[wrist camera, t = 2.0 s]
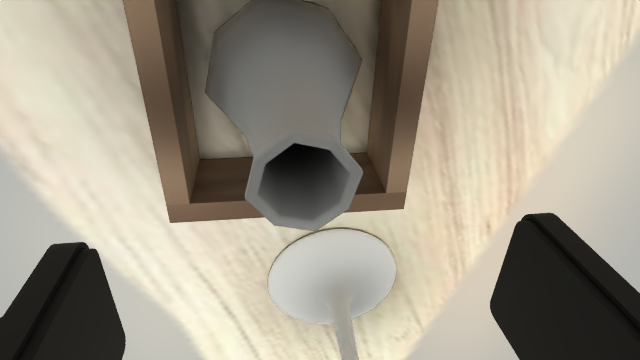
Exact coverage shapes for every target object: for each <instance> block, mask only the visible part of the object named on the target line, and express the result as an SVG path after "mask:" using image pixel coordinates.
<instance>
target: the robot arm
mask: <svg viewBox="0 0 640 360" xmlns="http://www.w3.org/2000/svg"><path fill="white" fill-rule="evenodd" d="M490 309H491V313H492V315H493V317H494V319H495V320H496V322H497V324H498V325H499V327H500V329H501V330H502V332H503V333H504V335H505V337H506V338H507V340H508V341H509V343H510V345H511V346H512V348H513V349H514V351H515V353H516V354H517V356H518V358H519V359H520V360H640V293H639V292H637V290H636V289H635V288H633V287H632V286H631V285H630V284H629V283H628V282H627V281H626V280H625V279H624V278H623V277H622V276H621V275H620V274H618V273H617V272H616V271H615V270H614V269H613V268H612V267H611V266H610V265H609V264H608V263H607V262H606V261H605V260H603V259H602V258H601V257H600V256H599V255H598V254H597V253H596V252H595V251H594V250H593V249H592V248H591V247H590V246H589V245H587V244H586V243H585V242H584V241H583V240H582V239H581V238H580V237H579V236H578V235H577V234H576V233H575V232H573V230H571V229H570V228H569V227H568V226H567V225H566V224H565V223H564V222H563V221H561V219H560V218H559V217H557V216H556V215H554V214H553V213H539V214H528V215H525V216H524V217H523V218H522V220H521V221H519V222H518V223H517V224H516V226H515V228H514V232H513V235H512V237H511V240H510V244H509V246H508V250H507V253H506V255H505V259H504V262H503V265H502V268H501V271H500V274H499V277H498V280H497V283H496V286H495V289H494V292H493V295H492V298H491V301H490ZM125 341H126V340H125V333H124V330H123V327H122V324H121V321H120V318H119V315H118V312H117V309H116V306H115V303H114V300H113V297H112V294H111V290H110V288H109V285H108V281H107V279H106V275H105V272H104V269H103V266H102V263H101V260H100V257H99V254H98V252H97V250H96V249H89V247H88V245H87V244H86V243H84V242H77V243H62V244H53V245H51V246H50V247H49V248H48V249H47V251H46V253H45V254H44V256H43V257H42V259H41V260H40V262H39V263H38V265H37V266H36V268H35V269H34V271H33V272H32V274H31V275H30V277H29V278H28V280H27V281H26V283H25V284H24V286H23V287H22V289H21V290H20V292H19V293H18V295H17V296H16V298H15V299H14V301H13V302H12V304H11V305H10V307H9V308H8V310H7V311H6V313H5V314H4V316H3V317H1V318H0V360H122V357H123V354H124V350H125Z"/></svg>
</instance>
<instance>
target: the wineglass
mask: <svg viewBox="0 0 640 360" xmlns="http://www.w3.org/2000/svg"><path fill="white" fill-rule="evenodd" d="M395 277H396V261H395V258H394V256H393V254H392V252H391V250H390V249H389V248H388V247H387V245H386V244H384V243H383V242H382V241H381V240H379V239H378V238H376V237H374V236H372V235H370V234H368V233H365V232H361V231H357V230H351V229H332V230H325V231H321V232H317V233H314V234H311V235H308V236H306V237H304V238H302V239H300V240H298V241H296V242H294V243H293V244H292V245H290V246H289V247H288V248H286V249H285V250H284V251H283V252H282V253H281V254H280V255H279V257H278V258H277V259H276V261H275V262H274V264H273V265H272V267H271V270H270V273H269V276H268V291H269V294H270V297H271V299H272V301H273V302H274V304H275V305H276V306H277V307H278V308H279V309H280V310H281V311H282V312H284V313H285V314H287V315H288V316H290V317H292V318H294V319H297V320H300V321H303V322H308V323H314V324H332V323H333V326H334V329H335V333H336V337H337V341H338V345H339V350H340V354H341V359H342V360H359V357H358V353H357V348H356V343H355V338H354V333H353V327H352V321H351V319H354V318H356V317H358V316H361V315H363V314H364V313H366V312H368V311H370V310H371V309H373V308H374V307H375V306H377V305H378V304H379V303H380V302H381V301H382V300H383V299H384V298H385V297H386V295H387V294H388V293H389V291H390V289H391V288H392V286H393V283H394V281H395Z"/></svg>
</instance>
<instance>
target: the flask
mask: <svg viewBox="0 0 640 360" xmlns="http://www.w3.org/2000/svg"><path fill="white" fill-rule="evenodd" d="M361 61H362V58H361V56H360V55H359V53H358V52H357V50H356V49H355V47H354V46H353V44H352V43H351V42H350V40H349V39H348V37H347V36H346V34H345V33H344V31H343V30H342V28H341V27H340V26H339V24H338V23H337V21H336V20H335V18H334V17H333V15H332V14H331V12H330V11H329V10H328V8H325V7H322V6H318V5H315V4H312V3H308V2H305V1H302V0H251V1H250V2H249V3H248V4H247V5H246V6H244V7H243V8H242V9H241V10H240V11H239V12H238V13H236V14H235V15H234V16H233V17H232V18H231V19H229V20H228V21H227V22H226V23H225V24H224V25H223V26H221V27H220V28H219V29H218V30H217V31H216V32H215V33H214V40H213V46H212V52H211V59H210V65H209V71H208V77H207V84H206V90H205V93H206V94H207V96H208V97H209V98H210V99H211V100H212V101H213V102H214V103H215V104H216V105H217V106H218V107H219V108H220V109H221V110H222V111H223V112H224V113H225V114H226V115H227V116H228V117H229V118H230V120H231V121H232V122H233V123H234V124H235V126H236V127H237V128H238V129H239V130H240V131H241V133H242V134H243V135H244V136H245V137H246V139H247V141H248V144H249V146H250V149H251V152H252V154H253V157H254V159H253V163H252V167H251V171H250V175H249V179H248V183H247V188H246V192H245V199H246V200H247V201H248V202H249V203H250V204H251V205H252V206H253V207H255V208H256V209H257V210H258V211H259V212H260V213H261V214H262V215H263V216H265V217H266V218H267V219H268V220H269V221H270V222H271V223H272V224H273V225H276V226H283V227H289V228H296V229H303V230H310V231H316V230H318V229H319V228H321V227H322V226H324V225H325V224H327V223H328V222H330V221H331V220H333V219H334V218H336V217H337V216H339V215H340V214H342V213H343V212H345V211H346V210H348V209H349V207H350V205H351V202H352V200H353V197H354V195H355V192H356V190H357V187H358V185H359V182H360V180H361V177H362V175H363V171H362V168H361V167H360V166H359V165H358V163H357V162H356V161H355V160H354V159H353V157H352V156H351V155H350V154H349V153H348V151H347V150H346V149H345V148H344V147H343V145H342V144H341V119H342V116H343V113H344V111H345V108H346V105H347V102H348V99H349V96H350V93H351V90H352V87H353V84H354V81H355V79H356V76H357V73H358V70H359V67H360V64H361Z"/></svg>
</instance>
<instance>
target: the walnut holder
mask: <svg viewBox="0 0 640 360" xmlns="http://www.w3.org/2000/svg"><path fill="white" fill-rule="evenodd" d="M123 4H124V9H125V13H126V18H127V23H128V27H129V32H130V37H131V42H132V46H133V51H134V56H135V60H136V65H137V70H138V74H139V79H140V84H141V88H142V93H143V98H144V103H145V107H146V112H147V117H148V121H149V126H150V131H151V135H152V140H153V145H154V150H155V154H156V159H157V164H158V168H159V173H160V178H161V182H162V187H163V192H164V196H165V201H166V206H167V211H168V215H169V220H170V223H177V222H194V221H210V220H227V219H244V218H261V217H265V216H263V215H262V214H261V213H260V212H259V211H258V210H257V209H256V208H255V207H253V206H252V205H251V204H250V203H249V202H248V201H247V200H246V199H245V192H246V188H247V183H248V179H249V175H250V171H251V167H252V163H253V159H254V157H253V158H229V159H205V160H200V158H199V151H198V144H197V138H196V131H195V124H194V117H193V111H192V104H191V97H190V90H189V84H188V77H187V70H186V64H185V57H184V50H183V43H182V37H181V30H180V23H179V17H178V10H177V3H176V0H123ZM437 6H438V0H382V4H381V14H380V24H379V34H378V44H377V54H376V64H375V75H374V85H373V95H372V105H371V115H370V125H369V135H368V145H367V153H350V155H351V156H352V157H353V159H354V160H355V161H356V162H357V163H358V165H359V166H360V167H361V168H362V171H363V175H362V177H361V180H360V182H359V185H358V187H357V190H356V192H355V195H354V197H353V200H352V202H351V205H350V207H349V209H348V210H346V211H345V212H362V211H378V210H395V209H404V204H405V198H406V192H407V186H408V180H409V174H410V168H411V162H412V156H413V150H414V144H415V138H416V132H417V126H418V120H419V114H420V108H421V102H422V96H423V90H424V84H425V78H426V72H427V66H428V60H429V54H430V48H431V42H432V36H433V30H434V24H435V18H436V12H437ZM345 212H343V213H345Z"/></svg>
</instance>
